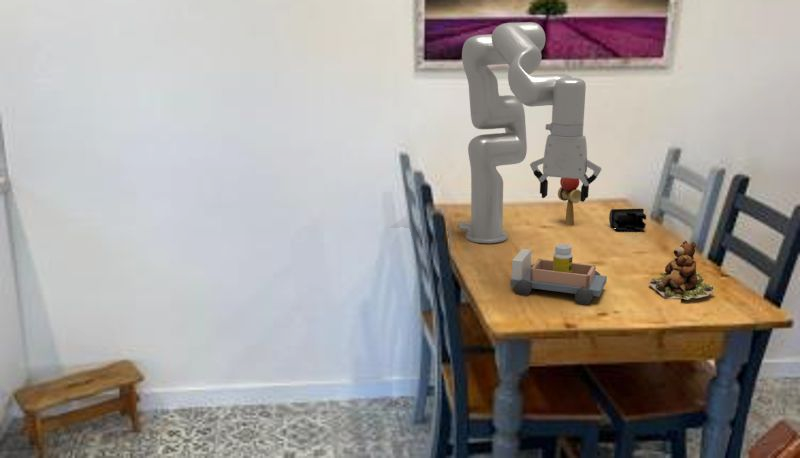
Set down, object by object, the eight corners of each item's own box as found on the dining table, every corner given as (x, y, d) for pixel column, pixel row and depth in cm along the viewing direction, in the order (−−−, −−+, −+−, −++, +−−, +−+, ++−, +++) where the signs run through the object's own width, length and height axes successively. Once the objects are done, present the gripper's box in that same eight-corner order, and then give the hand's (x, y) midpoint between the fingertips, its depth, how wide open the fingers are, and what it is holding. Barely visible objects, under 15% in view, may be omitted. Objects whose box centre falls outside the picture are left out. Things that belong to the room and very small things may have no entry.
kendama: (554, 224, 252) (556, 170, 247) (572, 223, 253) (575, 169, 248) (563, 231, 245) (565, 175, 240) (582, 229, 246) (584, 174, 241)
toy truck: (508, 294, 193) (509, 262, 191) (522, 276, 206) (523, 246, 203) (597, 306, 185) (599, 273, 182) (607, 286, 197) (608, 255, 195)
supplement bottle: (571, 281, 191) (573, 249, 189) (552, 280, 192) (553, 248, 190) (571, 275, 196) (572, 243, 194) (552, 274, 197) (553, 243, 194)
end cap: (639, 226, 249) (640, 206, 247) (646, 233, 242) (648, 212, 240) (608, 227, 249) (609, 207, 247) (614, 233, 242) (616, 212, 240)
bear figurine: (638, 284, 199) (641, 239, 196) (687, 278, 203) (691, 234, 200) (670, 303, 187) (674, 255, 183) (722, 296, 191) (727, 249, 187)
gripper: (528, 130, 186) (525, 199, 191) (600, 135, 179) (596, 205, 185) (535, 125, 193) (533, 191, 198) (606, 129, 186) (601, 198, 191)
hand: (563, 198), depth 191 cm, fingers open, 9 cm apart
